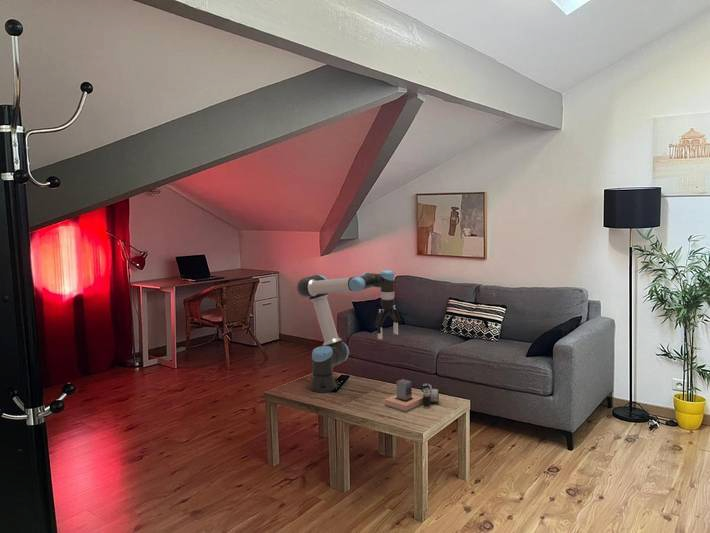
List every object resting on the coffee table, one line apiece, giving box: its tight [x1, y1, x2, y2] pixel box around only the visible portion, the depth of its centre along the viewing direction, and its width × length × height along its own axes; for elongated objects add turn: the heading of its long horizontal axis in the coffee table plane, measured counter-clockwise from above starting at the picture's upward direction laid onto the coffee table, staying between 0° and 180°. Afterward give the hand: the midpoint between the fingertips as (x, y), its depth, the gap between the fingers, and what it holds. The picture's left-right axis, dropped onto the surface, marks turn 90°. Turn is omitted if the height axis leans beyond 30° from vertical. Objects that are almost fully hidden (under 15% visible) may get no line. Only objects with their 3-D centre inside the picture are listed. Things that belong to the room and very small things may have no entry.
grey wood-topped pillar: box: [396, 378, 413, 402], centre depth 304 cm, size 6×5×12 cm
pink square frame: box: [384, 393, 423, 413], centre depth 305 cm, size 14×15×4 cm
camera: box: [420, 383, 440, 409], centre depth 307 cm, size 16×9×10 cm, turn 171°
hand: (388, 336), depth 321 cm, fingers open, 13 cm apart
